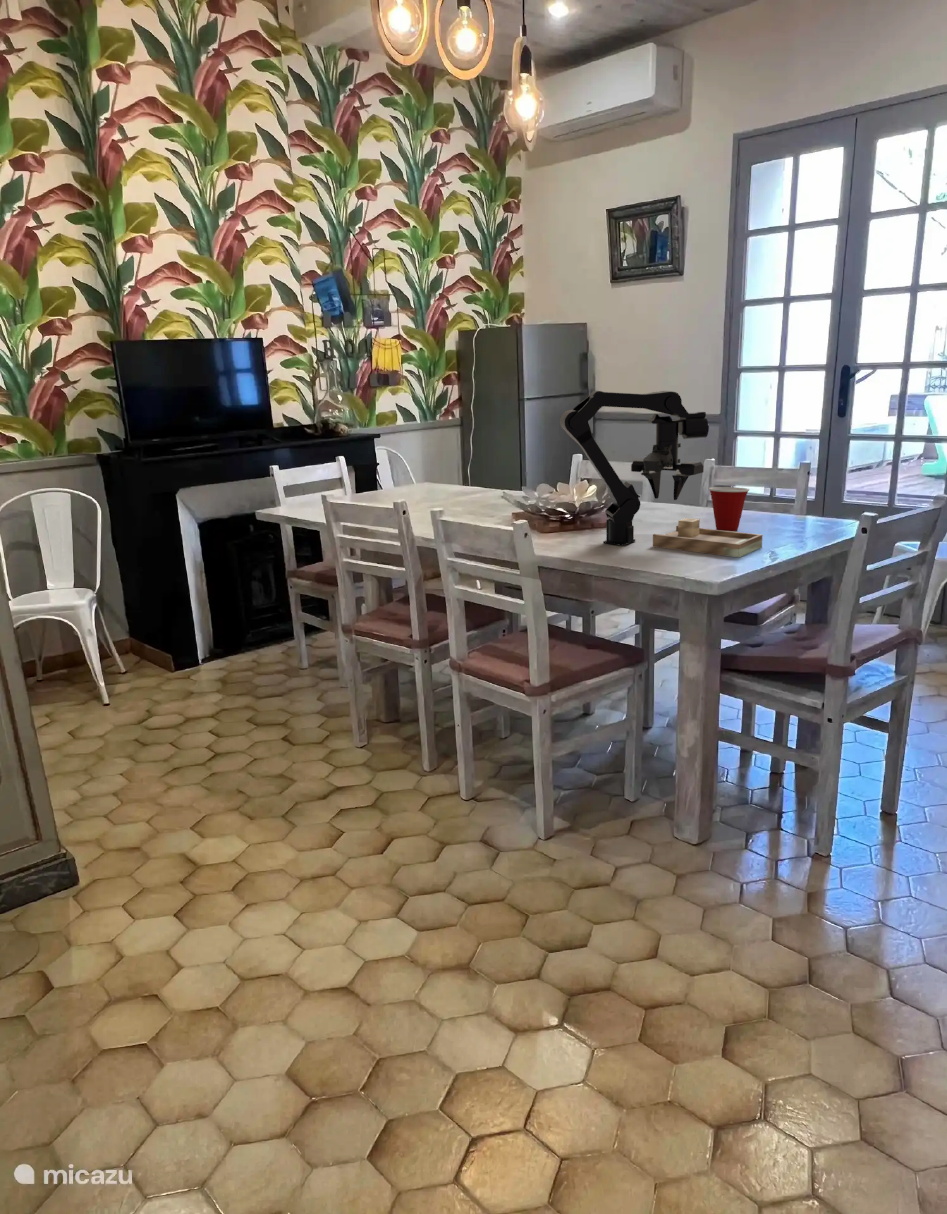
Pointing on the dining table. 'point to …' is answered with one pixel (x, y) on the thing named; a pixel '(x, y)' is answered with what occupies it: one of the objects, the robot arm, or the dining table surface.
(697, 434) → the robot arm
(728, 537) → the wooden tray box
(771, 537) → the dining table surface
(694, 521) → the block
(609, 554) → the dining table surface
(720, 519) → the plastic cup
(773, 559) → the dining table surface
